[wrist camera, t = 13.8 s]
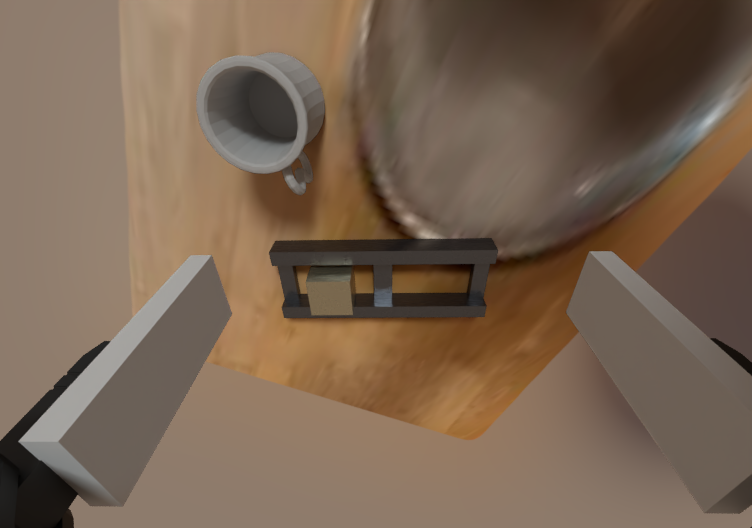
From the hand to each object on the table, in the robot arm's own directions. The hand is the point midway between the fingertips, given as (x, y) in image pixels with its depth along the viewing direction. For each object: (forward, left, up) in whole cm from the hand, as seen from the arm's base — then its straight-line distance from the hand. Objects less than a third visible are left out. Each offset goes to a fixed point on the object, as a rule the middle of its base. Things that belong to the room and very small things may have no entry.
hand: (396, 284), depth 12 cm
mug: (-1, -10, -29) cm, 31 cm away
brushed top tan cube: (+20, -8, -29) cm, 36 cm away
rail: (+20, -1, -29) cm, 35 cm away
